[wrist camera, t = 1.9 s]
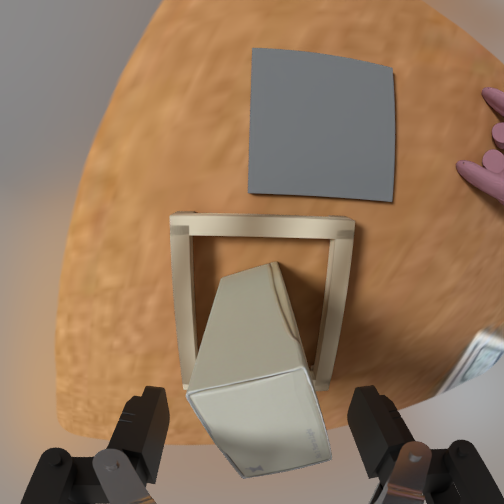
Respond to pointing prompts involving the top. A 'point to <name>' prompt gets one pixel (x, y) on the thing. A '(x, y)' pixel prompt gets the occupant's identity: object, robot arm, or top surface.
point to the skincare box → (257, 379)
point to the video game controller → (489, 155)
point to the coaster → (321, 126)
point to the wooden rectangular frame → (261, 226)
